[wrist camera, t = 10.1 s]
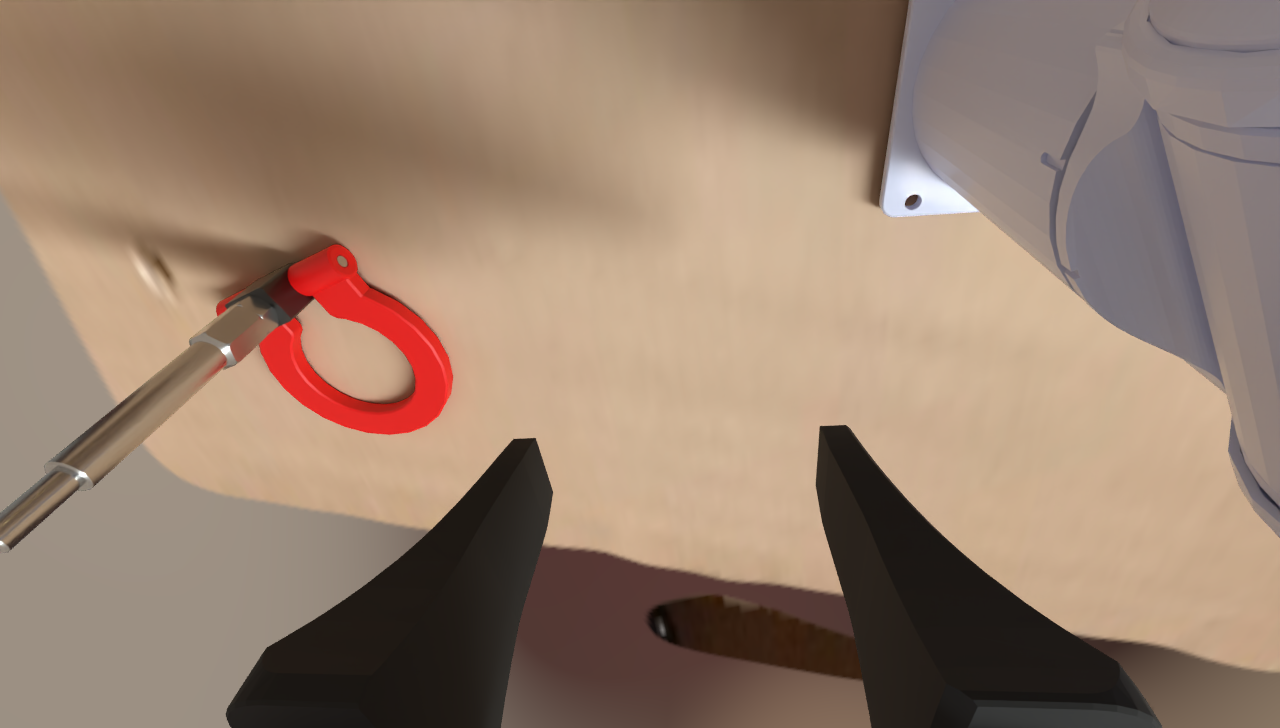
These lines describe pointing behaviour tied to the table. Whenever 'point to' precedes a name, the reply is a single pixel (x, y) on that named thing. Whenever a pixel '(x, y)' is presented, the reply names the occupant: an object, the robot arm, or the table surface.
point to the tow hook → (272, 325)
